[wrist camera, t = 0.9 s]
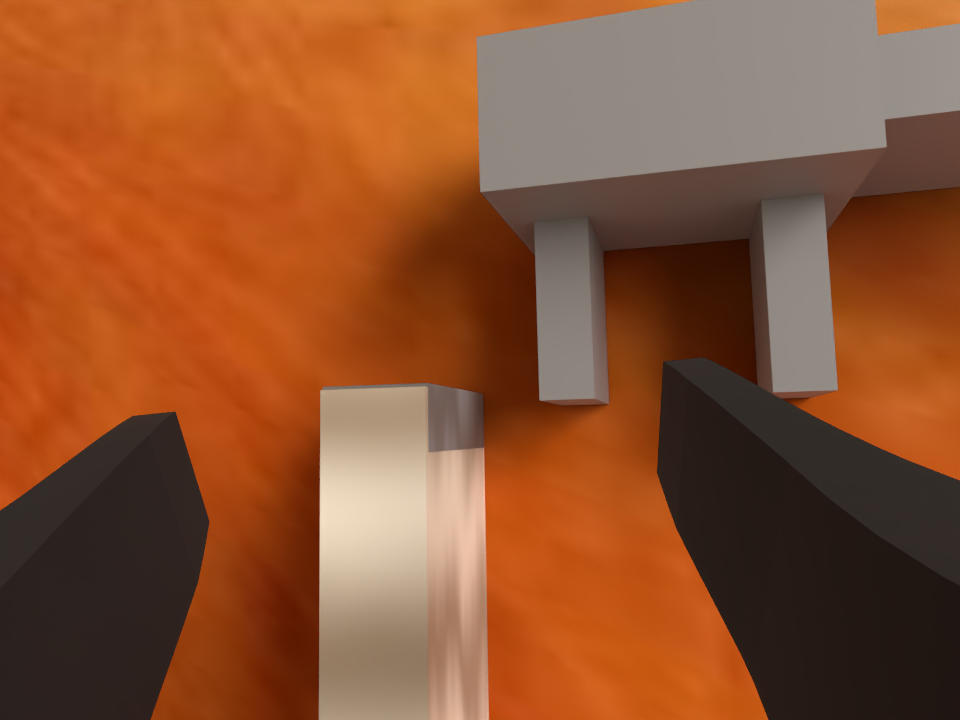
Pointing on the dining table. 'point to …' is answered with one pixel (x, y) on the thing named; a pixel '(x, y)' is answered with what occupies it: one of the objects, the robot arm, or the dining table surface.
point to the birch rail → (402, 554)
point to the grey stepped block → (707, 158)
